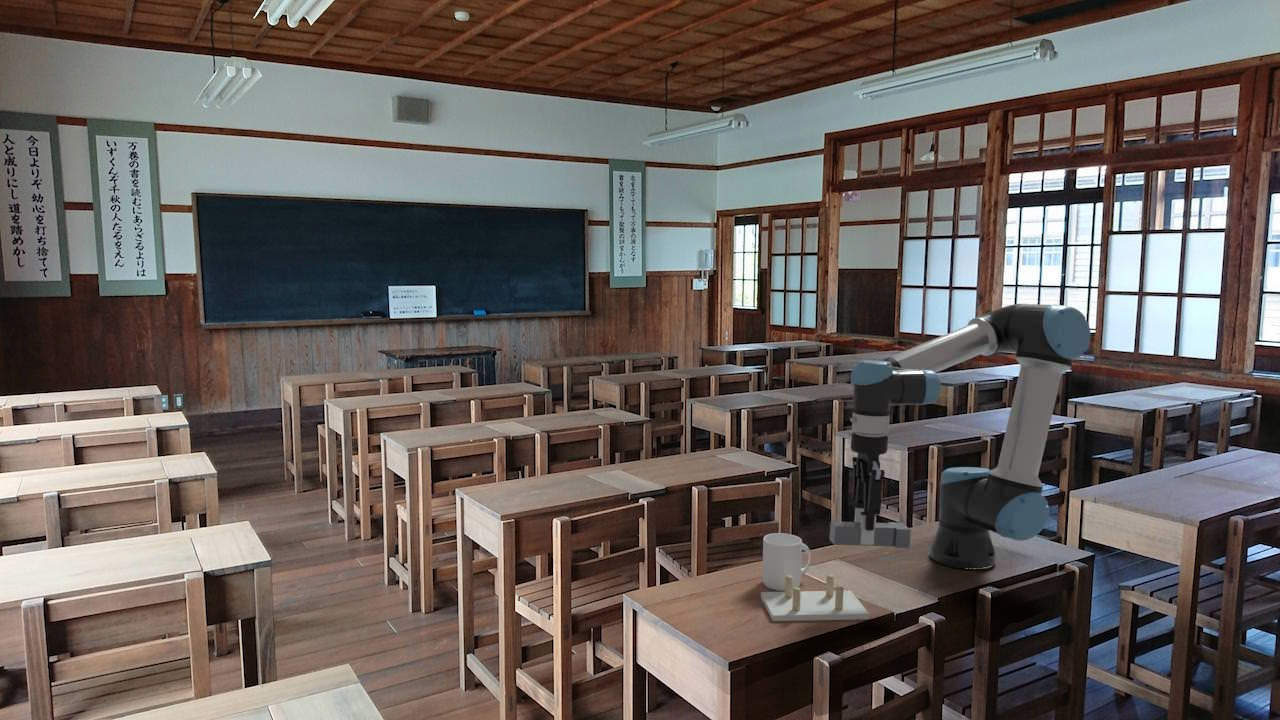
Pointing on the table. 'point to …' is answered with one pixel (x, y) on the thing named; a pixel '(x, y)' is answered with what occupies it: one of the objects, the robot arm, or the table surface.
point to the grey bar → (883, 534)
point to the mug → (783, 560)
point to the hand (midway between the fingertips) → (863, 540)
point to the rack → (813, 603)
